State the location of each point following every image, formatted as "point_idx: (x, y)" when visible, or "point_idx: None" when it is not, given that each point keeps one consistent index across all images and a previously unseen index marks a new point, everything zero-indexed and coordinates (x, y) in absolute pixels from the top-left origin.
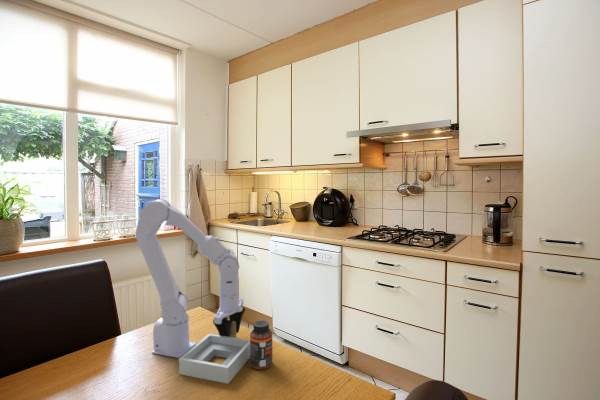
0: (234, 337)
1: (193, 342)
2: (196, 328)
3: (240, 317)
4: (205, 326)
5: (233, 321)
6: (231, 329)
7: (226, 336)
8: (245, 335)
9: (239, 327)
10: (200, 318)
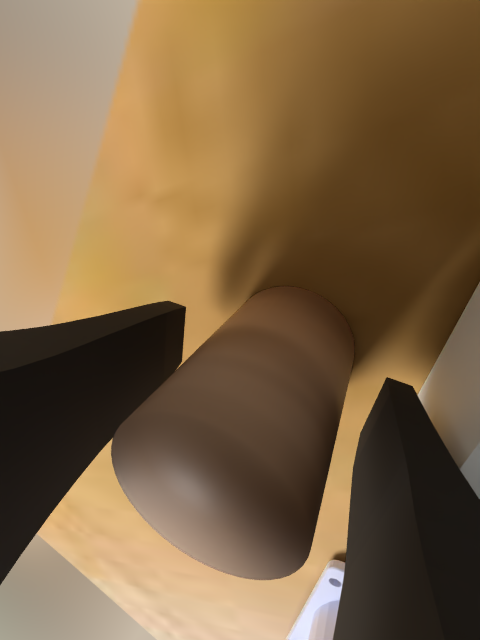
0: (305, 328)
1: (328, 577)
2: (149, 526)
3: (12, 371)
4: (119, 489)
5: (131, 446)
6: (310, 438)
7: (463, 471)
8: (152, 225)
9: (135, 310)
10: (62, 503)
